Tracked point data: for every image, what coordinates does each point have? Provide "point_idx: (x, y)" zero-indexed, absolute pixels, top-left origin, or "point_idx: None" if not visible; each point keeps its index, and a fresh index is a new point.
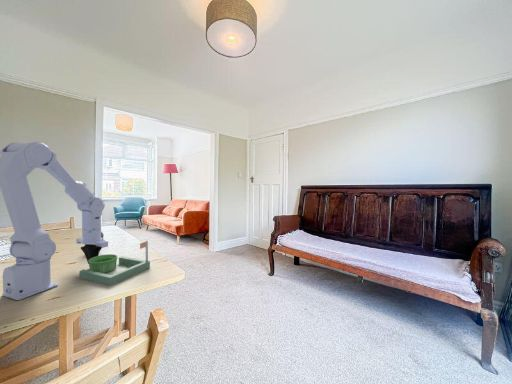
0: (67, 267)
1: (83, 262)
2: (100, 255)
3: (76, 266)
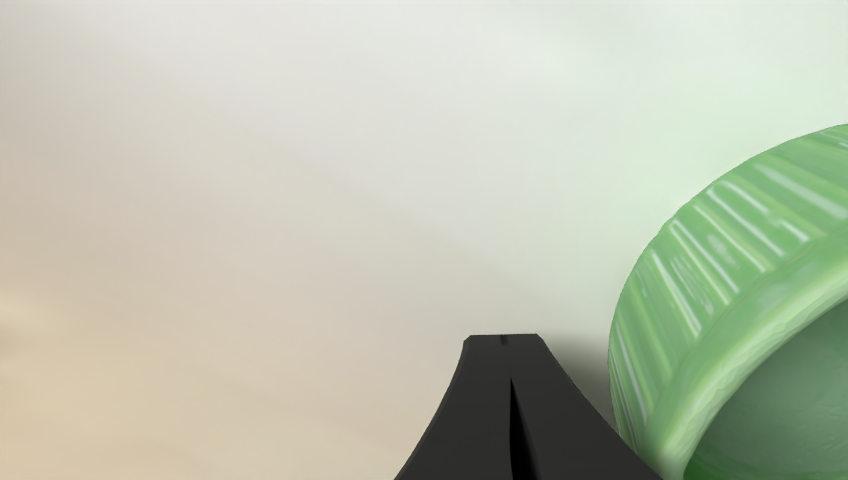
0: (113, 471)
1: (35, 240)
2: (704, 416)
3: (182, 403)
